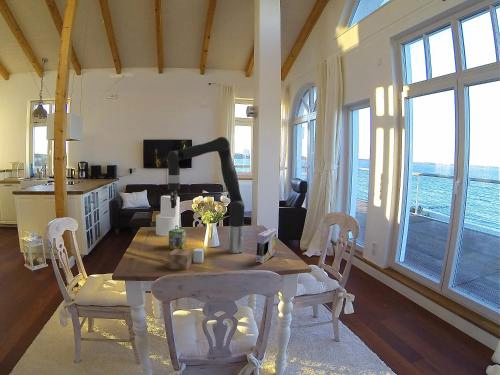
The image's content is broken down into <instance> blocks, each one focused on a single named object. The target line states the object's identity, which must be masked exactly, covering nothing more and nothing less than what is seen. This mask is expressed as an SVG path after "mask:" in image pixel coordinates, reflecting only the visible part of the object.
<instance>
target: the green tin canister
mask: <svg viewBox="0 0 500 375" xmlns="http://www.w3.org/2000/svg"><path fill="white" fill-rule="evenodd" d="M176 227H177V229H172V230H170V231H169V236H168V249H170V250H172V249H173V250H174V249H183V248H185V247H186V243H187V242H186V241H187V240H186V238H187V237H186V236H187V230H186V229H184V228H183V229H181V228H179V229H178V225H176V226H175V228H176Z"/></svg>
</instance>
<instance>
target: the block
mask: <svg viewBox="0 0 500 375" xmlns="http://www.w3.org/2000/svg"><path fill="white" fill-rule="evenodd" d="M192 256H193V263H196V264H197V263H198V264H202V263H203V262H204V259H205V248H201V247H200V248H198V247H197V248H196V247H195V249H194V250H193V255H192Z"/></svg>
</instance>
